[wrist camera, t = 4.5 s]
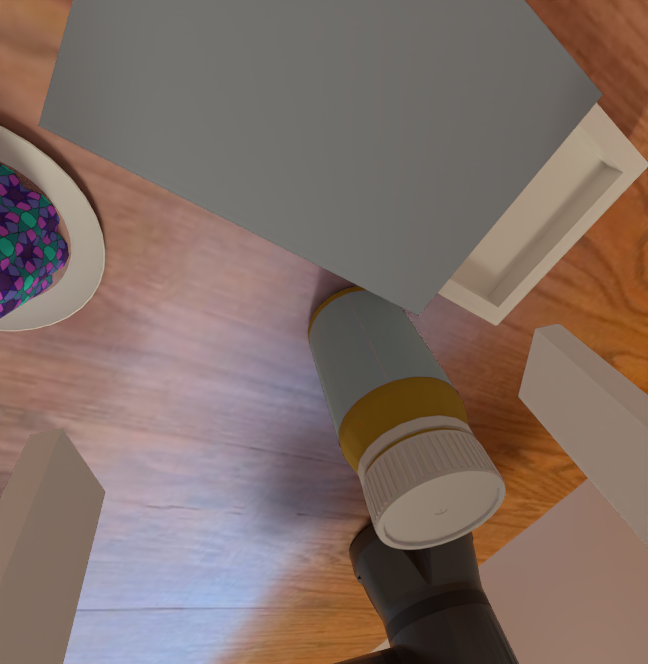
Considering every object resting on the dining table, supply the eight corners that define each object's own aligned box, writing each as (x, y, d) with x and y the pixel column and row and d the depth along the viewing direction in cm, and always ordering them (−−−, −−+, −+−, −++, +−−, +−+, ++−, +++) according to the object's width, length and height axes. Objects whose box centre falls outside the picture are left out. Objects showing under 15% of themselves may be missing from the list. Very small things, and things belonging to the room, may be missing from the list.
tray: (618, 154, 27) (649, 164, 25) (479, 308, 32) (496, 326, 30) (492, 14, 21) (520, 14, 19) (346, 232, 26) (357, 249, 24)
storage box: (434, 63, 21) (603, 94, 12) (342, 207, 25) (418, 315, 16) (197, -156, 15) (175, -420, 6) (119, 73, 19) (31, 121, 10)
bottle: (327, 373, 33) (391, 569, 21) (290, 308, 28) (344, 509, 17) (408, 336, 32) (521, 516, 20) (383, 264, 28) (507, 440, 16)
